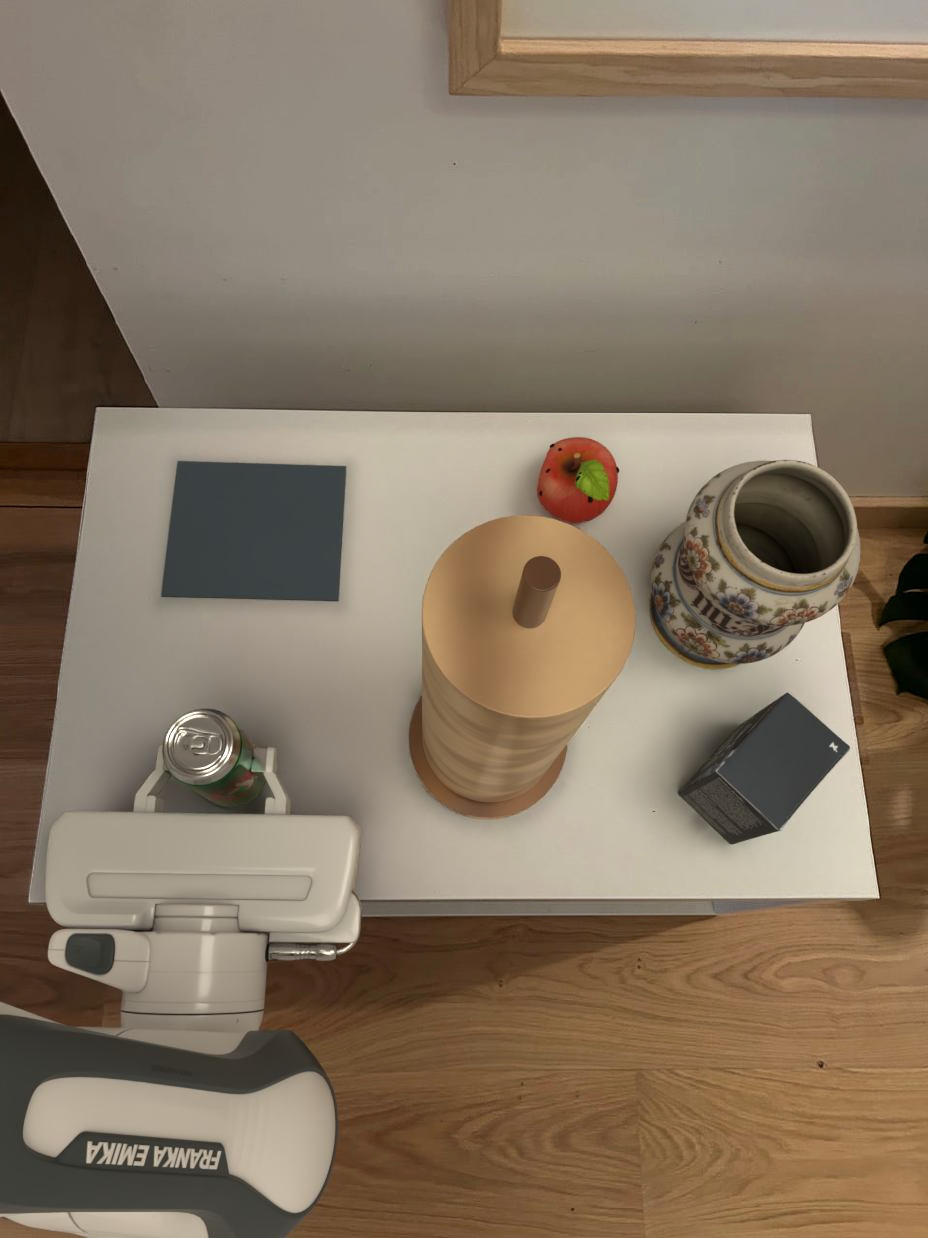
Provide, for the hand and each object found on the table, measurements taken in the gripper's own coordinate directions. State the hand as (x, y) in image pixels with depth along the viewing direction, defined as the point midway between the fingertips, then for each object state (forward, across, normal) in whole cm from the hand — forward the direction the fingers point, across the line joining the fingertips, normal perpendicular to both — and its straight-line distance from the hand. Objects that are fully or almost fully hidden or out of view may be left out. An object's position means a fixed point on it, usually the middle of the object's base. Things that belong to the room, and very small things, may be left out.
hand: (218, 747), depth 65 cm
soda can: (-1, 0, +6) cm, 6 cm away
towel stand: (+2, -19, +6) cm, 20 cm away
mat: (+19, 0, +6) cm, 20 cm away
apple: (+22, -26, +6) cm, 35 cm away
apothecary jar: (+13, -37, +6) cm, 40 cm away
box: (-1, -38, +6) cm, 38 cm away
